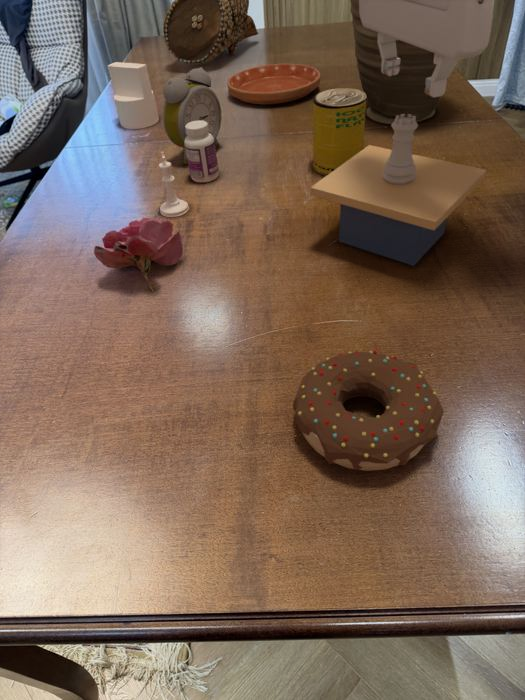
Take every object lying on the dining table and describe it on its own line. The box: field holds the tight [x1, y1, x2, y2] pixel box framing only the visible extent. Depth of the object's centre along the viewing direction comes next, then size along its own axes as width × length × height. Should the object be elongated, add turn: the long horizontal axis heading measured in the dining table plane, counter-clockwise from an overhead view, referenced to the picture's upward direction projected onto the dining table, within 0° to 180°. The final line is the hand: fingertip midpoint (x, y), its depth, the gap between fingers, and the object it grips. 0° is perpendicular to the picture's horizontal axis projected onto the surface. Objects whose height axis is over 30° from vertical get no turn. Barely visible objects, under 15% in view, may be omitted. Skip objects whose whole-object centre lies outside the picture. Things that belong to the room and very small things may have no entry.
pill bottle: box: [184, 120, 220, 184], centre depth 91 cm, size 5×5×10 cm
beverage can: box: [312, 87, 367, 176], centre depth 89 cm, size 9×9×12 cm
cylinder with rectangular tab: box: [107, 61, 160, 130], centre depth 114 cm, size 9×9×12 cm
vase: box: [350, 0, 449, 125], centre depth 101 cm, size 24×24×30 cm
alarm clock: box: [162, 66, 222, 165], centre depth 97 cm, size 12×7×15 cm, turn 143°
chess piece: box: [158, 150, 190, 218], centre depth 83 cm, size 5×5×10 cm
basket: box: [162, 0, 260, 66], centre depth 149 cm, size 24×22×35 cm
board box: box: [310, 144, 487, 267], centre depth 72 cm, size 18×16×9 cm
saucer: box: [226, 63, 321, 105], centre depth 125 cm, size 23×23×4 cm
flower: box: [93, 217, 184, 293], centre depth 71 cm, size 11×10×10 cm
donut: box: [292, 350, 444, 472], centre depth 49 cm, size 14×14×5 cm
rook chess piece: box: [382, 114, 419, 185], centre depth 66 cm, size 4×4×8 cm
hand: (410, 84), depth 60 cm, fingers open, 8 cm apart
